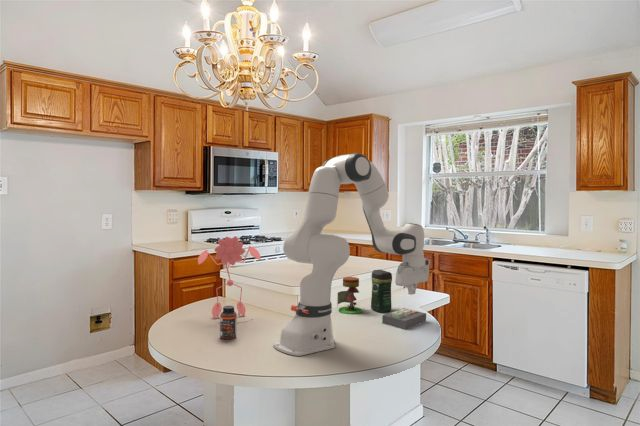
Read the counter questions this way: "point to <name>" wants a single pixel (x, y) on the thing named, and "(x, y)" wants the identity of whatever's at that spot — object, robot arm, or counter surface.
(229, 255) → the figurine
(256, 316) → the counter surface
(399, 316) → the key left
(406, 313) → the key mid
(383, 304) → the coffee jar
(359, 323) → the counter surface
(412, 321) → the keypad
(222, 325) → the supplement bottle
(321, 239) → the robot arm
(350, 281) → the red green toy sculpture
